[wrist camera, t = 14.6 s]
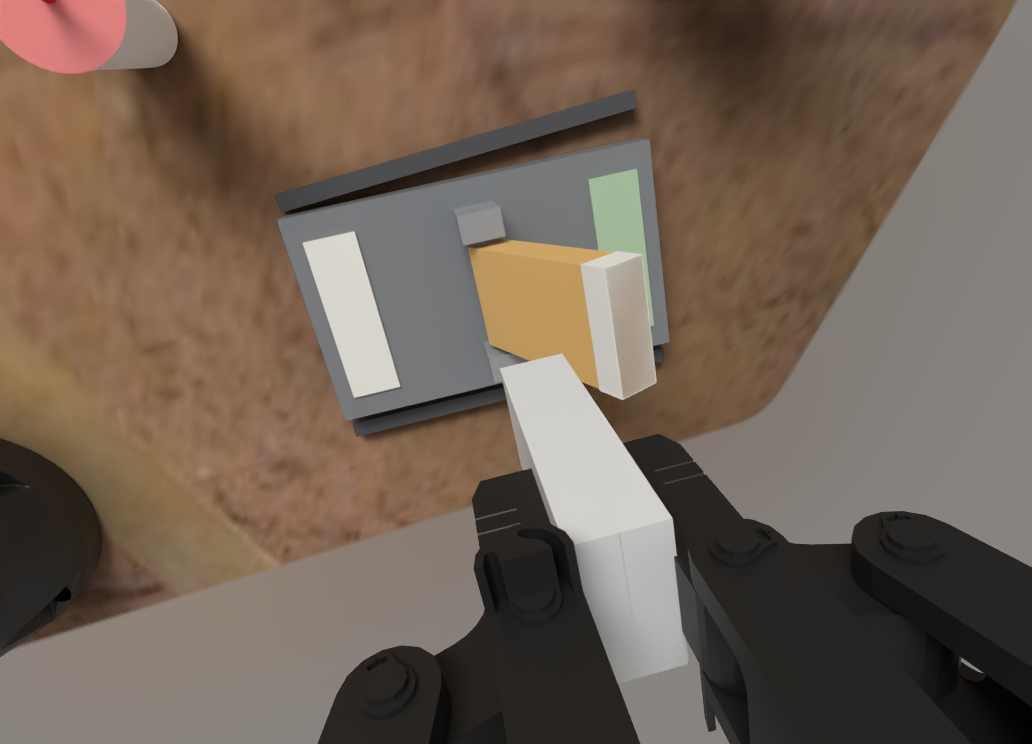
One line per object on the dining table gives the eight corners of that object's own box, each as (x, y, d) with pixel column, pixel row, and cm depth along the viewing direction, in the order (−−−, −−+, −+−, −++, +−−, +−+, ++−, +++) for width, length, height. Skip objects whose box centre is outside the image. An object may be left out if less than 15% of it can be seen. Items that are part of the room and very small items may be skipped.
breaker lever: (484, 345, 38) (622, 402, 27) (461, 243, 35) (604, 264, 25) (512, 334, 39) (657, 385, 28) (492, 234, 36) (641, 250, 26)
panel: (349, 404, 42) (340, 444, 37) (285, 214, 37) (264, 228, 31) (656, 330, 43) (689, 358, 38) (635, 138, 38) (670, 139, 33)
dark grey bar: (284, 210, 37) (281, 212, 36) (278, 193, 36) (274, 195, 35) (632, 108, 38) (637, 107, 37) (629, 90, 37) (634, 89, 36)
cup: (113, -53, 31) (-54, -155, 20) (216, 20, 33) (115, -37, 22) (68, 43, 32) (-112, -2, 21) (170, 108, 34) (52, 98, 23)
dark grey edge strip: (358, 430, 43) (356, 436, 42) (353, 417, 42) (352, 424, 41) (658, 356, 44) (664, 361, 43) (657, 343, 44) (662, 348, 43)
